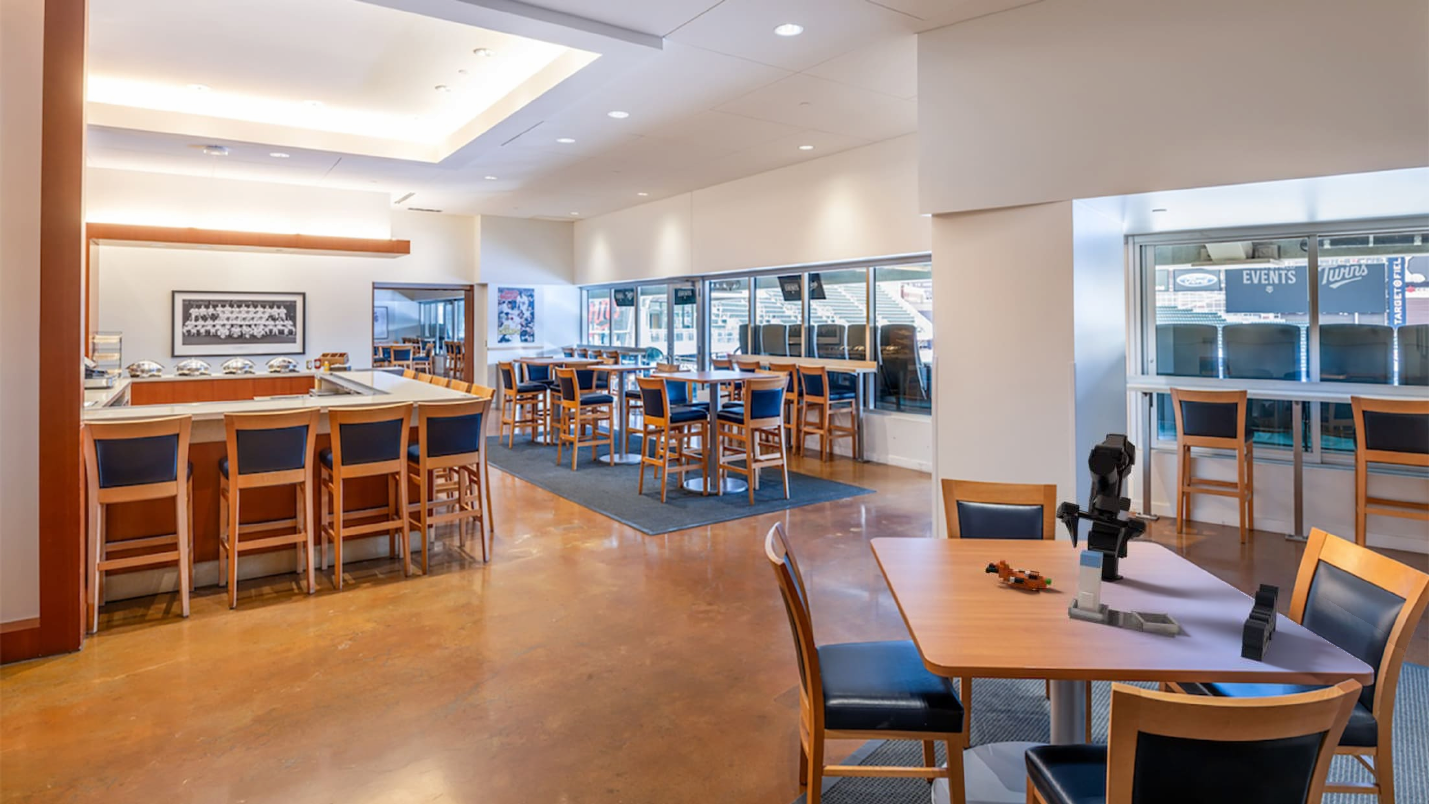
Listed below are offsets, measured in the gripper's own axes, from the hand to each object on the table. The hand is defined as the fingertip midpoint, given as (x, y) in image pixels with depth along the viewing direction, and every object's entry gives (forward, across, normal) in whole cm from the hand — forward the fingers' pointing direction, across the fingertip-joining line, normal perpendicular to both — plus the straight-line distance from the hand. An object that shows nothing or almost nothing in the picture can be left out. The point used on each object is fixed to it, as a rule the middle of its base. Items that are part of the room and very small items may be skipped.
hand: (1095, 552), depth 173 cm
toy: (+10, -14, +13) cm, 21 cm away
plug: (+15, 0, -2) cm, 15 cm away
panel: (+15, +6, -4) cm, 17 cm away
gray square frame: (+15, +12, -6) cm, 20 cm away
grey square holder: (+16, 0, -2) cm, 16 cm away
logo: (+14, +30, -9) cm, 35 cm away
